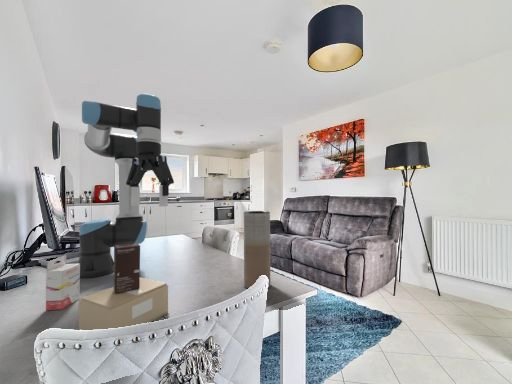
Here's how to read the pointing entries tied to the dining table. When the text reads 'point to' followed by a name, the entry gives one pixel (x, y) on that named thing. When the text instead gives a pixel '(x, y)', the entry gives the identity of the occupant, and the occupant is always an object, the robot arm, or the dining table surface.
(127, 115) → the robot arm
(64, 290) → the ink cartridge box
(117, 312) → the carton
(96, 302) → the lid
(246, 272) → the burlap textured cylinder
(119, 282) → the box
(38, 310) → the dining table surface
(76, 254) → the desk tidy frame
